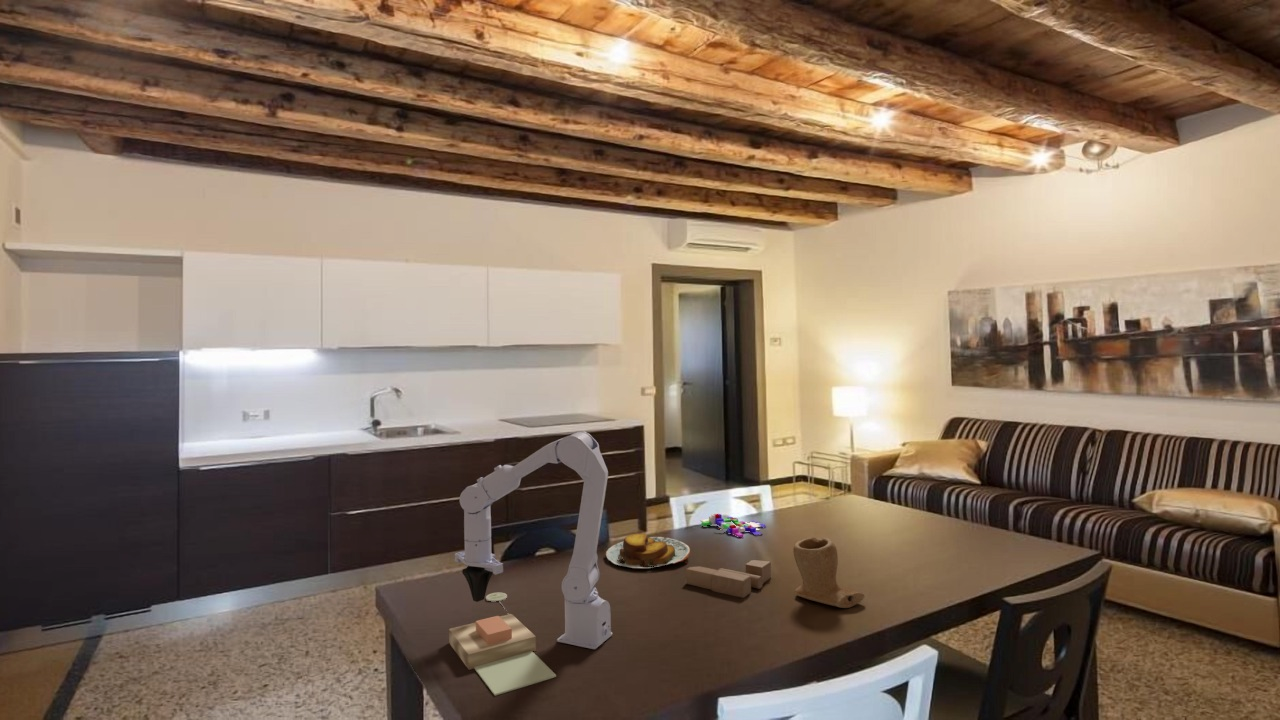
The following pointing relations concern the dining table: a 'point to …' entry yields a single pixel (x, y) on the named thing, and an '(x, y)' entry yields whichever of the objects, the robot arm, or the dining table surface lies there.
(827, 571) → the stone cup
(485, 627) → the tile
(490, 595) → the sign
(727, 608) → the dining table surface
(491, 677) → the mat
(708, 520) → the building block set
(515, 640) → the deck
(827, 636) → the dining table surface
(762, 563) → the wooden block set
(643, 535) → the food on plate
